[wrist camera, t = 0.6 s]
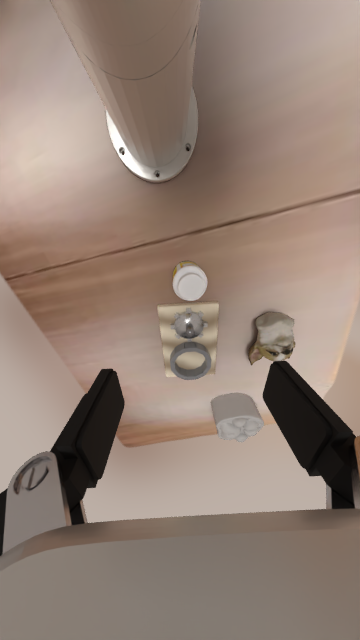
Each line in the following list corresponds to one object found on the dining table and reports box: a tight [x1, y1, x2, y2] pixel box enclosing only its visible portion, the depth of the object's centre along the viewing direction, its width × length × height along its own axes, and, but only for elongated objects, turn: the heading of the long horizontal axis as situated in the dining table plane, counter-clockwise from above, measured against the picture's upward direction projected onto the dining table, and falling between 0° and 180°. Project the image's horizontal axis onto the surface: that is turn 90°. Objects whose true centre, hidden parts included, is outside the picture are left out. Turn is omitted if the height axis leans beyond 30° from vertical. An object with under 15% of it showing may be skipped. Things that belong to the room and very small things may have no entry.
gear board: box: [157, 301, 219, 377], centre depth 39 cm, size 20×13×2 cm, turn 3°
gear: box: [171, 307, 208, 342], centre depth 34 cm, size 8×8×4 cm
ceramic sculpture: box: [248, 312, 295, 365], centre depth 35 cm, size 11×9×15 cm
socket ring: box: [170, 341, 211, 380], centre depth 39 cm, size 10×10×2 cm
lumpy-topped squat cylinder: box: [211, 393, 264, 442], centre depth 47 cm, size 10×13×9 cm
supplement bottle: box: [173, 261, 207, 301], centre depth 28 cm, size 6×6×10 cm
